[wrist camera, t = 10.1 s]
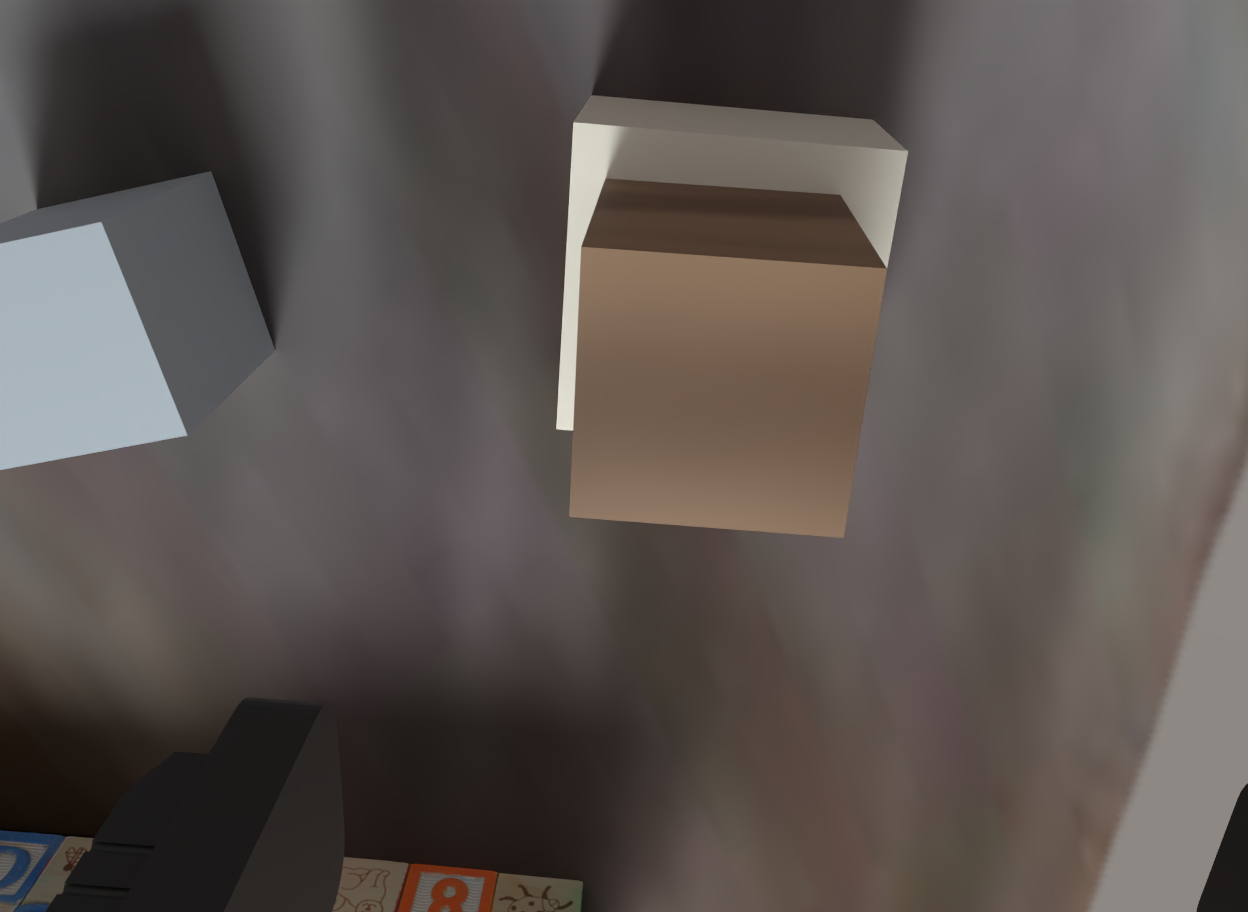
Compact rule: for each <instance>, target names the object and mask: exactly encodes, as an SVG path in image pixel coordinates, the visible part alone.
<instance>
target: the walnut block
mask: <svg viewBox="0 0 1248 912" xmlns="http://www.w3.org/2000/svg"><path fill="white" fill-rule="evenodd" d="M886 272H887V268H886V266H885V264H884V263H883V261H882V260H881V258H880V257H879V255H878V253H877V252H876V250H875V249H874V247H873V246H872V244H871V242H870V241H869V239H868V238H867V236H866V234H865V233H864V231H863V230H862V228H861V227H860V225H859V223H858V222H857V220H856V219H855V217H854V215H853V214H852V212H851V211H850V209H849V208H848V206H847V204H846V203H845V201H844V200H843V198H842V197H841V195H836V194H821V193H807V192H793V191H778V190H764V189H750V188H735V187H721V186H707V185H692V184H678V183H664V182H649V181H635V180H621V179H606V178H605V181H604V184H603V187H602V189H601V192H600V195H599V198H598V201H597V204H596V206H595V209H594V212H593V215H592V218H591V220H590V223H589V226H588V229H587V232H586V235H585V237H584V240H583V243H582V246H581V262H580V285H579V308H578V331H577V353H576V376H575V399H574V422H573V445H572V468H571V491H570V514H569V517H579V518H592V519H605V520H618V521H631V522H644V523H657V524H670V525H683V526H697V527H710V528H723V529H736V530H749V531H762V532H775V533H788V534H801V535H814V536H827V537H840V538H844V532H845V526H846V520H847V513H848V507H849V501H850V495H851V489H852V482H853V476H854V470H855V464H856V458H857V452H858V445H859V439H860V433H861V427H862V421H863V414H864V408H865V402H866V396H867V390H868V384H869V377H870V371H871V365H872V359H873V353H874V347H875V340H876V334H877V328H878V322H879V316H880V309H881V303H882V297H883V291H884V285H885V279H886Z"/></svg>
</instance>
